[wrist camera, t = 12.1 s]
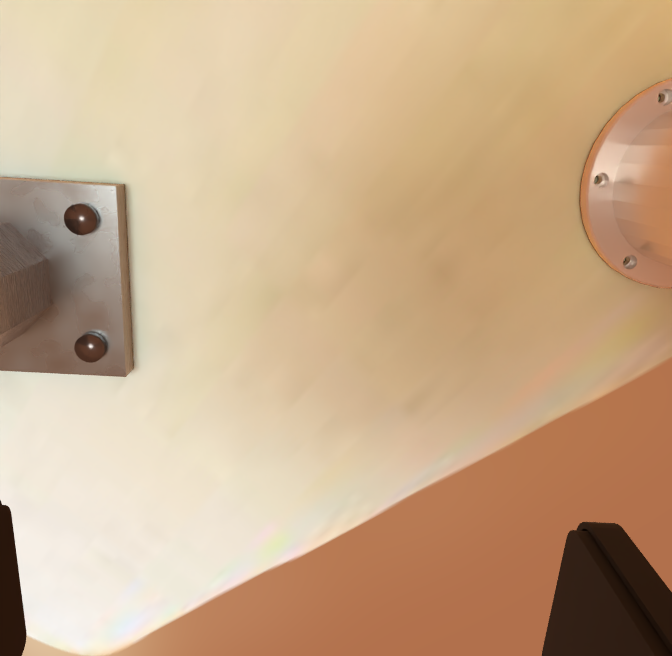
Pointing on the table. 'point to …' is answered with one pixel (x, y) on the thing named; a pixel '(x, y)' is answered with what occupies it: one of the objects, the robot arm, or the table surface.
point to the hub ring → (21, 284)
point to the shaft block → (74, 276)
